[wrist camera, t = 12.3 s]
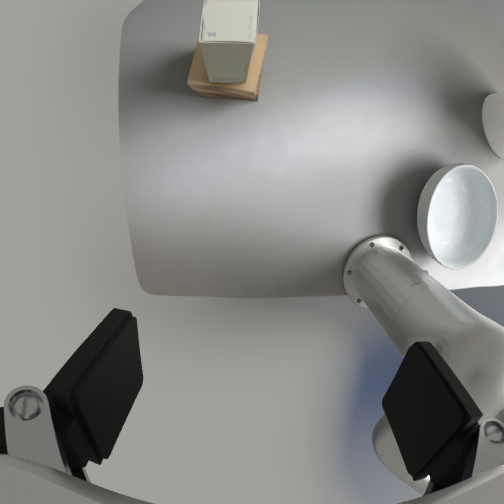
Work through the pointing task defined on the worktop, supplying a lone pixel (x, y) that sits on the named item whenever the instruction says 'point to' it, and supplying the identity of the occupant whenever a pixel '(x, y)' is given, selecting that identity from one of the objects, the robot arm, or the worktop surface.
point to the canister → (494, 122)
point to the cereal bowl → (457, 215)
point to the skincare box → (228, 38)
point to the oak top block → (247, 90)
